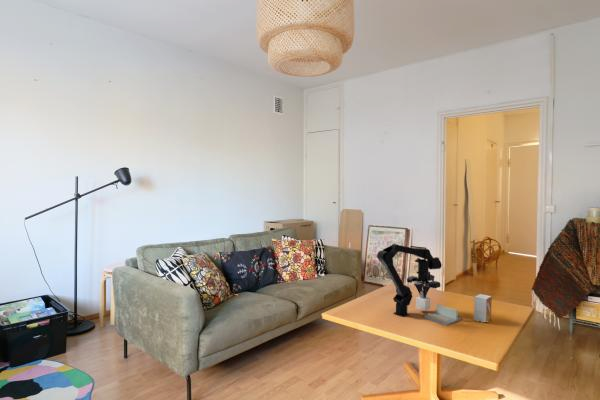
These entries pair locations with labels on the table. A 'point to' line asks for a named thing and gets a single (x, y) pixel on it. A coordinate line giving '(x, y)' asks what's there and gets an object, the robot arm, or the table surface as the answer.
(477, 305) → the small box
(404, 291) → the robot arm
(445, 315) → the cleat board
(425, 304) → the block with grey handle
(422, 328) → the table surface
